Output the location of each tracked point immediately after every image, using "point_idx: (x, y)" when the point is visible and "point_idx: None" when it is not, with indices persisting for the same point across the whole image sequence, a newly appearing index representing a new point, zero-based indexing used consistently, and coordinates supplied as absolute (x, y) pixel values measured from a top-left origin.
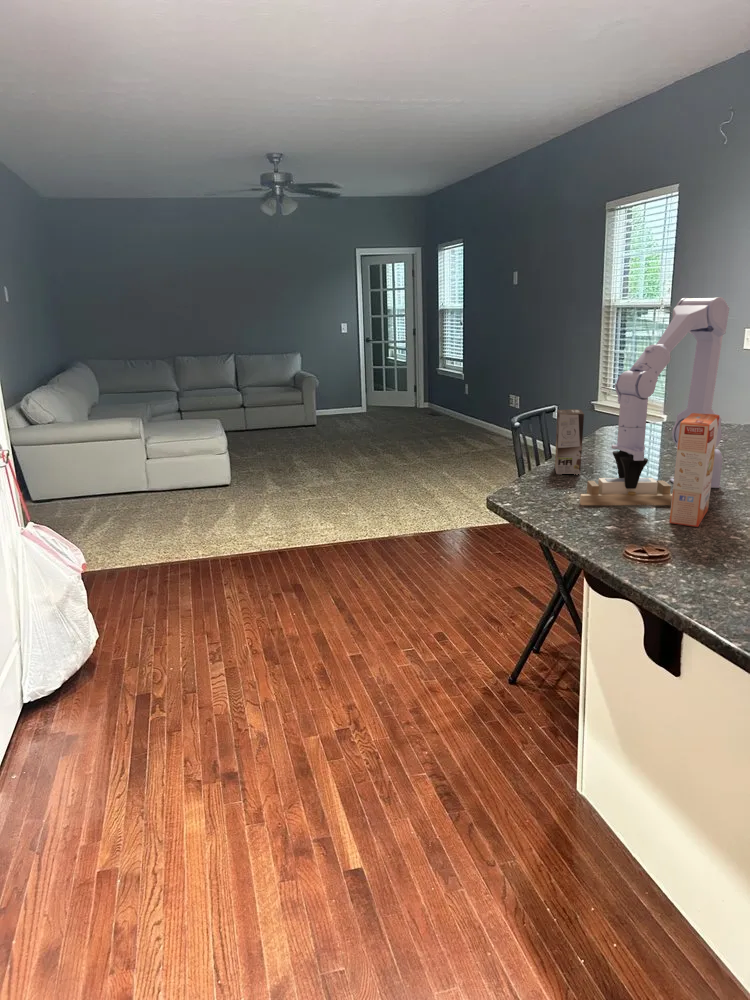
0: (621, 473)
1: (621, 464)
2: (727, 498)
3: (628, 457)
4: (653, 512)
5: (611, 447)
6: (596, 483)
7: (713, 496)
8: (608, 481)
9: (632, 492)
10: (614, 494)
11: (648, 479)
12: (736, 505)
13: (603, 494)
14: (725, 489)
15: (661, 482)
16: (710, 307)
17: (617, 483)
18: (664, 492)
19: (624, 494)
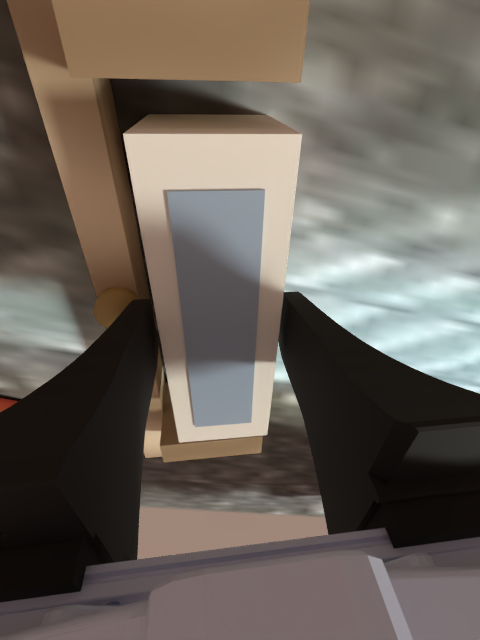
0: (300, 333)
1: (328, 382)
2: (235, 497)
3: (47, 537)
4: (8, 337)
5: (332, 563)
6: (186, 77)
7: (256, 482)
8: (167, 201)
9: (108, 315)
10: (103, 209)
11: (227, 421)
12: (169, 503)
13: (82, 120)
14: (317, 500)
15: (225, 445)
16: None
17: (148, 263)
18: (163, 422)
19: (117, 270)
